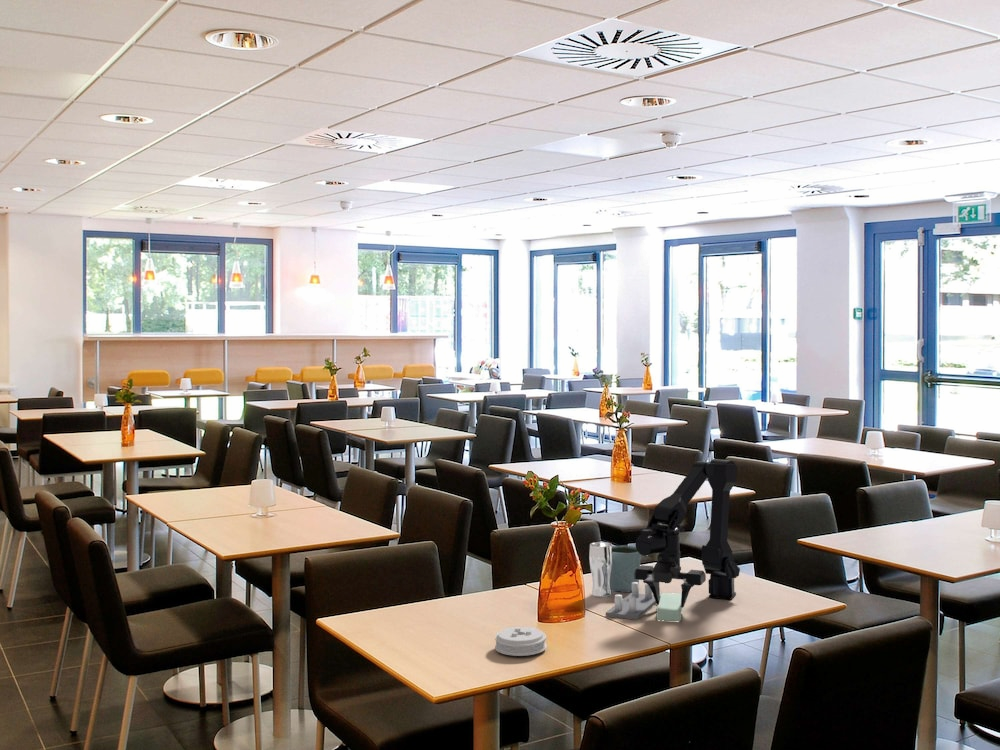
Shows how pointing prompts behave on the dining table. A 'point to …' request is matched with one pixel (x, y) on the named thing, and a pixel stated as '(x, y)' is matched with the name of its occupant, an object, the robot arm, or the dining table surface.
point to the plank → (669, 607)
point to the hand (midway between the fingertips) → (670, 606)
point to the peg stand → (632, 603)
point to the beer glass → (601, 568)
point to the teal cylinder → (624, 567)
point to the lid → (520, 641)
